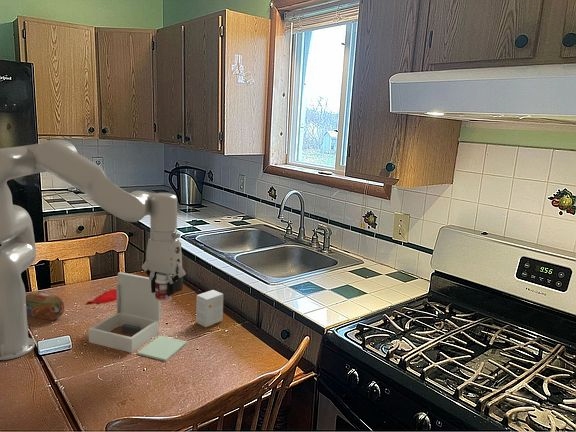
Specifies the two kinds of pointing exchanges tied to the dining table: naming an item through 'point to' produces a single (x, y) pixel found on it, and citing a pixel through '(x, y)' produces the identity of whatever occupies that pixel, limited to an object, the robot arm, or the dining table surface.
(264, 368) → the dining table surface
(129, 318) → the equipment case
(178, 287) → the vinegar
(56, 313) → the tin
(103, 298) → the cloth
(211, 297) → the small box
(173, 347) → the mat
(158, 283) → the pill bottle
